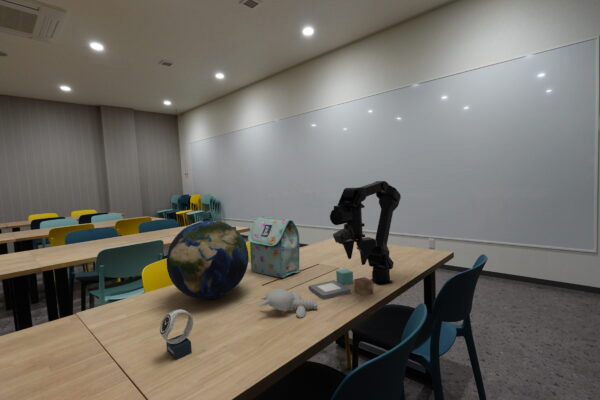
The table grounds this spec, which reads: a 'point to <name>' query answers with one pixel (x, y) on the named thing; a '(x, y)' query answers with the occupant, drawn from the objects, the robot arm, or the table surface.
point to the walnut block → (363, 286)
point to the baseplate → (329, 289)
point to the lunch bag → (274, 247)
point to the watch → (180, 343)
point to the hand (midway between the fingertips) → (356, 261)
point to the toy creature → (288, 301)
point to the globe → (207, 259)
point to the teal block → (344, 276)
